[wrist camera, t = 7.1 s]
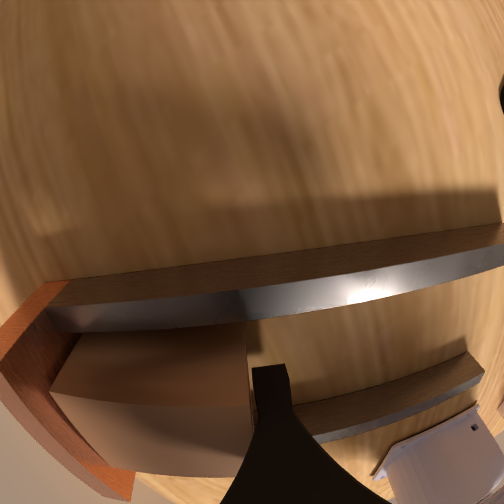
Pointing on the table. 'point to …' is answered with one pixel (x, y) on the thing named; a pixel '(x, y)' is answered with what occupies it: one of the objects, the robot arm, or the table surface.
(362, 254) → the guide lane
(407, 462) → the robot arm
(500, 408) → the milk
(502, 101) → the smartphone
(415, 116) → the table surface
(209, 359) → the block
